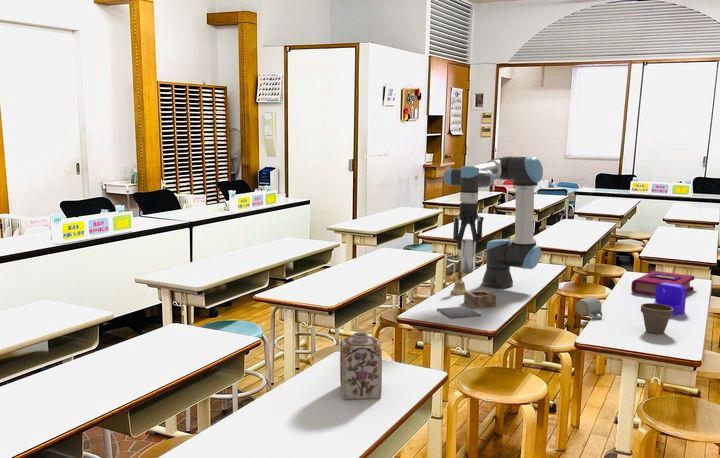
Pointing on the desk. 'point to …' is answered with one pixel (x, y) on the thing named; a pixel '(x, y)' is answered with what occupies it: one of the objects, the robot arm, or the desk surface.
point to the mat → (458, 312)
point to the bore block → (480, 299)
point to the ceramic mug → (589, 307)
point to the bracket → (671, 297)
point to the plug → (467, 256)
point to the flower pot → (656, 317)
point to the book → (660, 282)
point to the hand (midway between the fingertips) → (466, 256)
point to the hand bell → (459, 282)
